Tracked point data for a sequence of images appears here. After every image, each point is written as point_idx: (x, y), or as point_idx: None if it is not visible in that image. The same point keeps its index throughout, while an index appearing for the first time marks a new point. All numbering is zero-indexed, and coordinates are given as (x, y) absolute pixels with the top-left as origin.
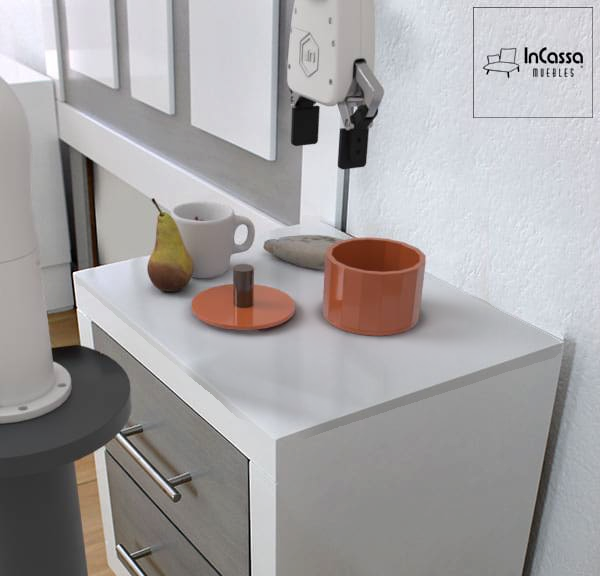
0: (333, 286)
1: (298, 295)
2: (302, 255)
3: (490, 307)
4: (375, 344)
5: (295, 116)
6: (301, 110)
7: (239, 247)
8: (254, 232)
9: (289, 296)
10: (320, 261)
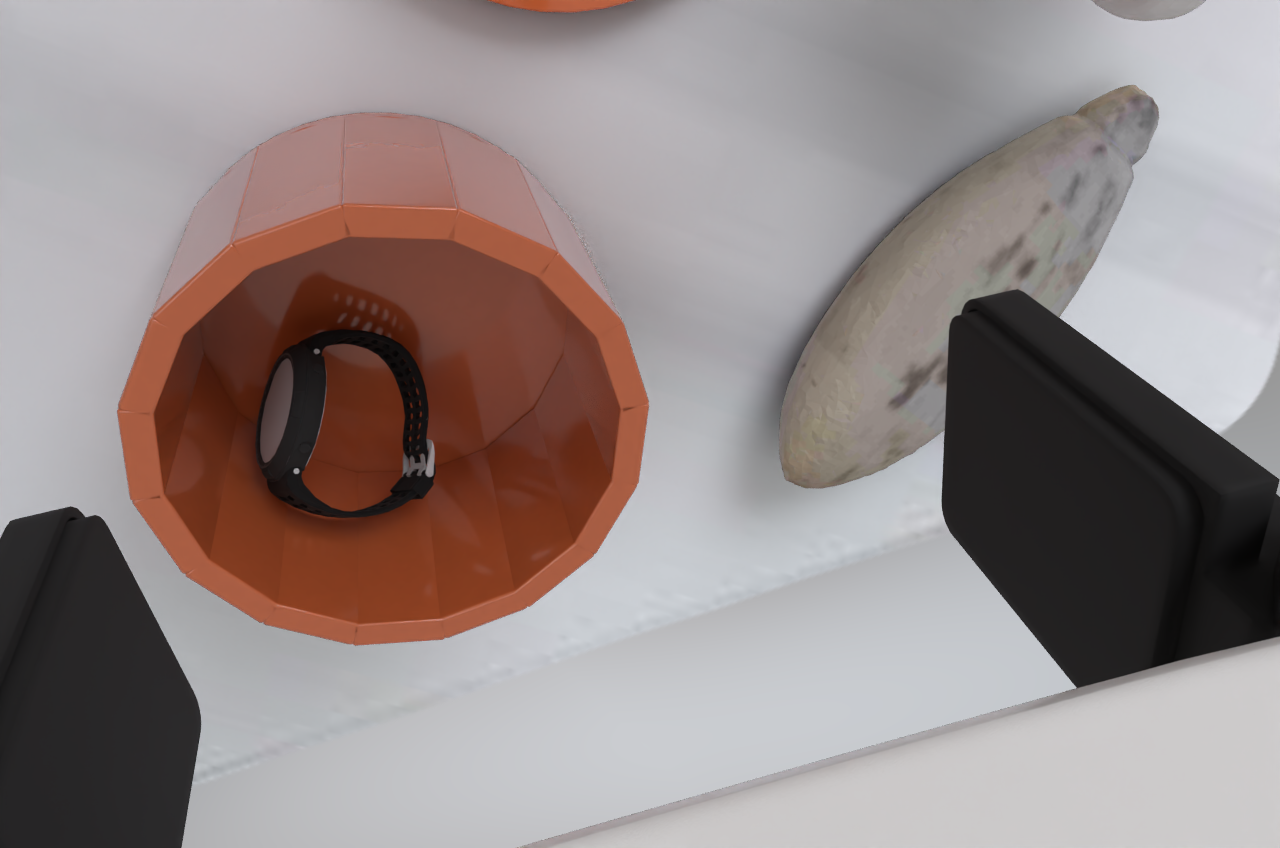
0: (317, 172)
1: (665, 83)
2: (938, 215)
3: (371, 707)
4: (90, 235)
5: (1140, 455)
6: (1164, 563)
7: None
8: (1117, 12)
9: (583, 7)
10: (869, 274)
